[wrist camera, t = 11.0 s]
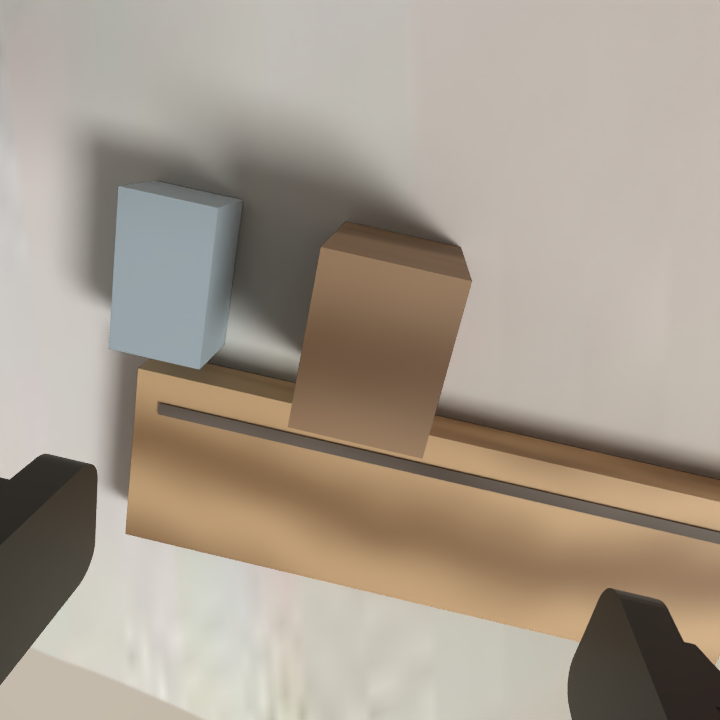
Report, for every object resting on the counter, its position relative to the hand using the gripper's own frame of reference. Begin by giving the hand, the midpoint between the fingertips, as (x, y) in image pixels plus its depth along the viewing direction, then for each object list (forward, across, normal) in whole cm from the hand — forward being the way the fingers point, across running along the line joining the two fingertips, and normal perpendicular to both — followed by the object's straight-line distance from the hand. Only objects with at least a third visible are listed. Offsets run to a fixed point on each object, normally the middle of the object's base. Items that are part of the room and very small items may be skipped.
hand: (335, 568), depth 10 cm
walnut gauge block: (+16, 0, 0) cm, 16 cm away
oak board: (+16, -4, +8) cm, 18 cm away
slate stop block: (+16, +8, 0) cm, 18 cm away
